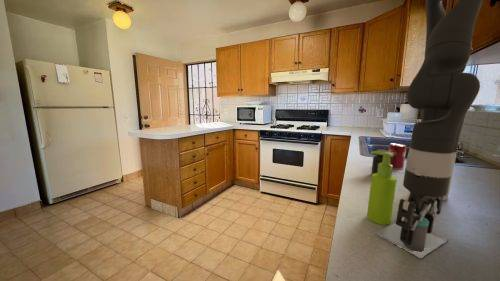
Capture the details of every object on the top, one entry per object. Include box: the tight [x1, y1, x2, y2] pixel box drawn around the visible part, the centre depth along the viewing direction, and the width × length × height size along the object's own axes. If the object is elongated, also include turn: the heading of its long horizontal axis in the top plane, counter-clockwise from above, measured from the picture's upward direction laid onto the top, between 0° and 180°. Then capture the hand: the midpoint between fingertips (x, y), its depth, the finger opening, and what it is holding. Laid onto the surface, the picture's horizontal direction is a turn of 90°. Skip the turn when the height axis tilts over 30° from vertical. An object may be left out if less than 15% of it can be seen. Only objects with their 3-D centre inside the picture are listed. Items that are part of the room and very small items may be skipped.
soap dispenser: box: [366, 150, 398, 226], centre depth 60 cm, size 6×7×20 cm
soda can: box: [388, 142, 407, 170], centre depth 108 cm, size 7×7×12 cm
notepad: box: [375, 221, 449, 252], centre depth 53 cm, size 13×10×1 cm
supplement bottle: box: [370, 149, 391, 175], centre depth 96 cm, size 7×7×12 cm
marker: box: [404, 214, 429, 252], centre depth 48 cm, size 4×4×7 cm
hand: (415, 236), depth 48 cm, fingers open, 8 cm apart
